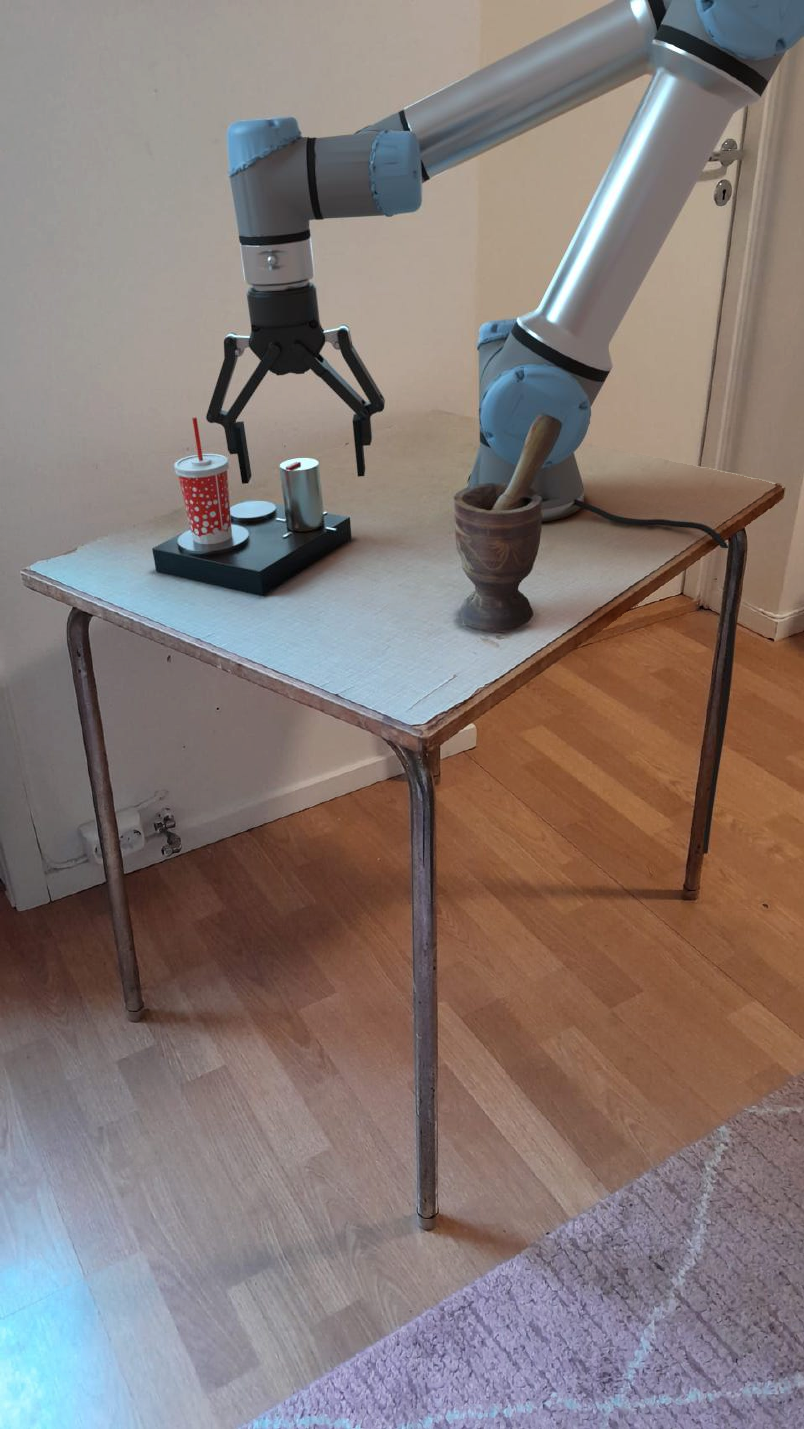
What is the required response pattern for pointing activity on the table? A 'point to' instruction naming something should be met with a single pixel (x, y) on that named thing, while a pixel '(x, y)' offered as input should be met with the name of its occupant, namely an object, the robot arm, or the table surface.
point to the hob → (257, 554)
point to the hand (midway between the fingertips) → (304, 476)
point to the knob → (302, 494)
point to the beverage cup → (205, 494)
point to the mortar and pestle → (503, 536)
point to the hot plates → (240, 535)
